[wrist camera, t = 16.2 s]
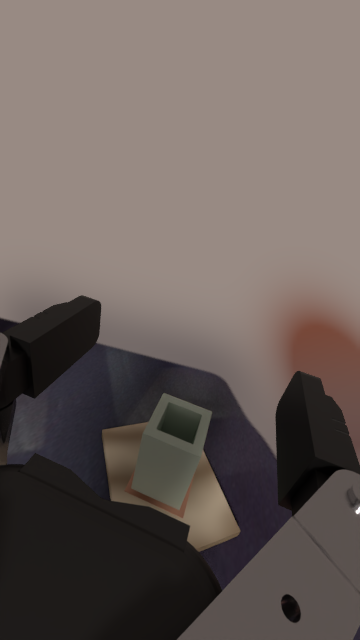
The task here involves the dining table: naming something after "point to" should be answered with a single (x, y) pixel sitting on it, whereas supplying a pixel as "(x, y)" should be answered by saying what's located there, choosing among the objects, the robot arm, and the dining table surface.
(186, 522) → the post board
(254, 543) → the dining table surface
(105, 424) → the dining table surface
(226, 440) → the dining table surface
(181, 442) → the sleeve
